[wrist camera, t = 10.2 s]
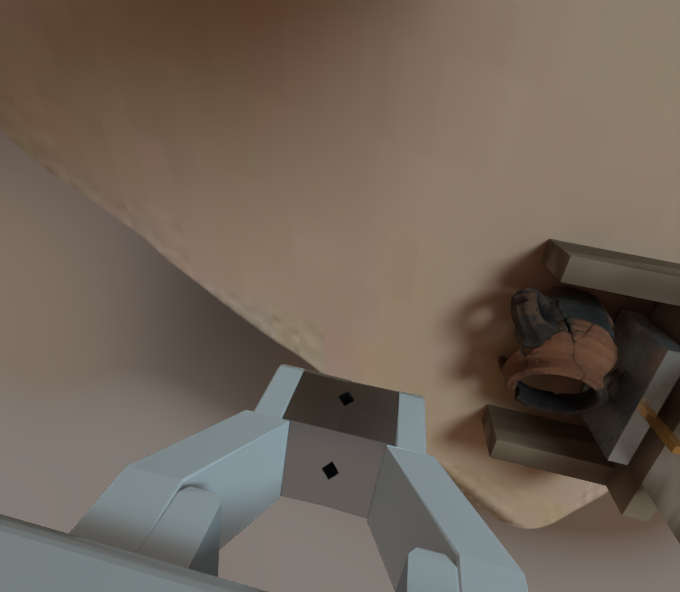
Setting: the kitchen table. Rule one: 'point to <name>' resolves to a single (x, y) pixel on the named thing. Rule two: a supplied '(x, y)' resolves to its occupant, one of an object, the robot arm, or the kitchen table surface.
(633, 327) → the grey flat panel
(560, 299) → the pottery mug
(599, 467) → the stand
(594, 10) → the kitchen table surface
